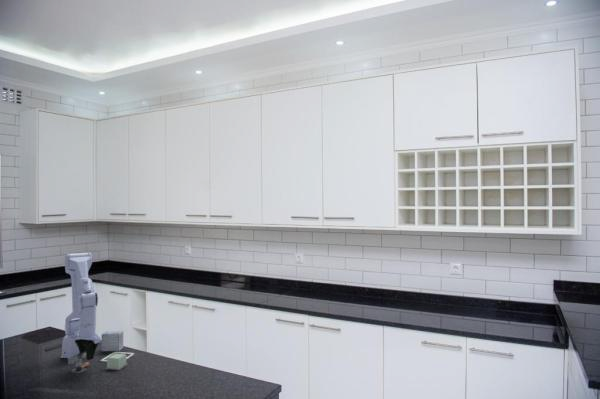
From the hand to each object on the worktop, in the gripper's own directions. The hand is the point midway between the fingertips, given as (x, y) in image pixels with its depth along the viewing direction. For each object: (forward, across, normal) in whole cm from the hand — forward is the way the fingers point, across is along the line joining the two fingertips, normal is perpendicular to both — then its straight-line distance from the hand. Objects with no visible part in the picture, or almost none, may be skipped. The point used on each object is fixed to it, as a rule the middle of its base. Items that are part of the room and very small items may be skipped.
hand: (87, 357), depth 152 cm
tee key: (+3, 0, -3) cm, 5 cm away
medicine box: (+5, -9, +17) cm, 20 cm away
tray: (+5, +1, +12) cm, 13 cm away
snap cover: (+4, +9, +7) cm, 12 cm away
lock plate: (+5, +4, +1) cm, 6 cm away
